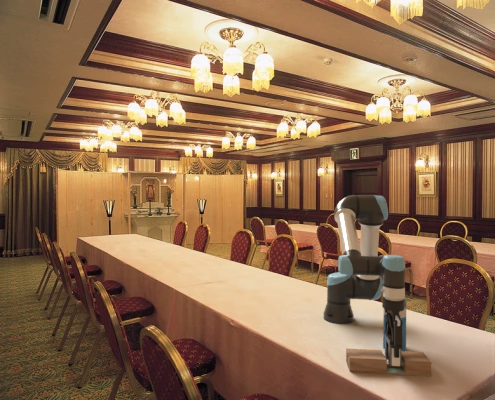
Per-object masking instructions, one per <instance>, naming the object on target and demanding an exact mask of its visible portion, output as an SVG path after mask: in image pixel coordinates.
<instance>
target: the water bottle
mask: <svg viewBox="0 0 495 400" xmlns="http://www.w3.org/2000/svg"><path fill="white" fill-rule="evenodd" d="M405 299H406V298H404V301H405V309H404V310H403V311H400V312H399V315H400V318H401V320H402V321H403V324H402V347H403V348H402V349H401V351H407V301H406V300H405ZM382 319H383V327H382V328H383V329H382V331H383V335H382V336H383V337H382V339H383V342H382V344H383V345H382V347H383V349H384V350H385V334H384V332H385V309H384V308H383V318H382Z"/></svg>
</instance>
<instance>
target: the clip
mask: <svg viewBox="0 0 495 400" xmlns="http://www.w3.org/2000/svg"><path fill="white" fill-rule="evenodd" d="M391 346H393V344H392V334H385V349H384V356H385V358H386V359H387V362H388V364H389V365H391V363H392V348H391ZM391 366H392V365H391ZM400 366H401V349H400Z"/></svg>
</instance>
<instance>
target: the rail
mask: <svg viewBox="0 0 495 400" xmlns="http://www.w3.org/2000/svg"><path fill="white" fill-rule="evenodd" d="M345 350H346V351H345V357H346V358H345V362H346V365H347V368H348V370H349V372H350V373H364V374H365V373H367V374H382V375H383V374H385V375H401V376H402V375H403V376H421V377H432V375H433V374H432V372H433V371H432V366H433V365H432V363H433V362H432V361H431V359H429V357H428V356H427V355H426V354H425V353H424V352H423V351H407V350H406V351H401V366H391V365H389V364H388V360H387V359H386V358H385V353H383V350H380V349H364V348H363V349H362V348H345Z"/></svg>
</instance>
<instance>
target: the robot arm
mask: <svg viewBox="0 0 495 400" xmlns="http://www.w3.org/2000/svg"><path fill="white" fill-rule="evenodd" d="M388 209H389V208H388V203H387V200H386V198H385V197H384V196H383V195H375V194H369V195H367V194H365V195H363V194H362V195H361V194H360V195H357V194H356V195H355V194H352V195H351V194H350V195H347V196H346V197H343V198H342V199H340V200H339V202H338V203H337V204H336V206H335V208H334V212H333V217H334V221H335V222H336V223H337V227H338V228H337V229H338V235H339V241H340V250H341V255H339V256H338V259H337V260H338V261H337V262H338V263H337V265H338V268H337V269H338V272H333V273H329V274H328V276H327V277H326V278H327V281H326V286H327V287H326V288H327V289H326V290H327V291H326V292H327V293H326V296H327V297H326V304H325V308H324V310H323V319H324V320H326V321H327V322H331V323H333V324H334V323H335V324H349V323H353V322H354V320H355V315H354V312H353V308H352V306H351V300H366V301H374V300H375V301H377V300H379V299H380V298H381V297H382V299H381V300H382V303H381V304H382V308H383V310H384V309H385V332H384V334H392V344H393V346H391V348H392V363H391V365H392V366H400V349H402V348H403V347H402V324H403V321H402V320H401V318H400V315H399V312H400V311H403V310H404V309H405V301H406V300H405V301H404V299H406V298H405V297H406V287H405V283H406V281H405V280H406V279H405V278H406V259H405V257H404V256H402V255H398V254H382V255H379V256H378V253H379V241H380V239H379V238H380V229H381V226H383V225H384V221H386V220H388V217H389V210H388ZM355 220H357V222H358V224H359V225H360V236H358V232H357V228H356V222H355ZM359 237H360V239H359Z"/></svg>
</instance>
